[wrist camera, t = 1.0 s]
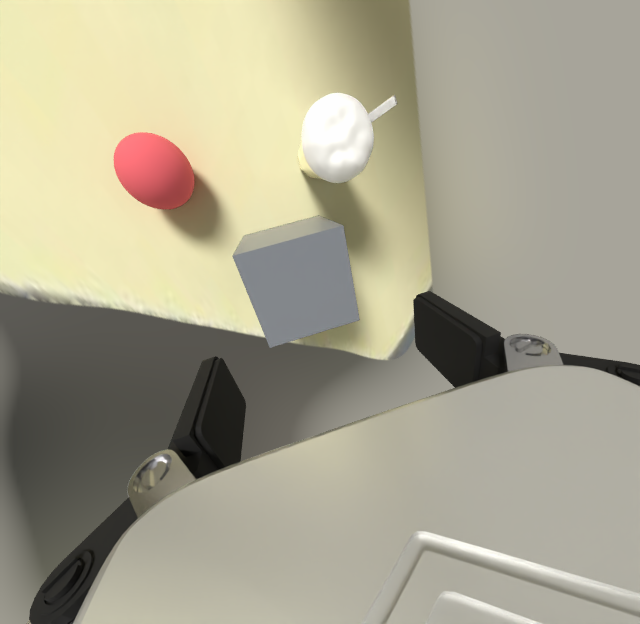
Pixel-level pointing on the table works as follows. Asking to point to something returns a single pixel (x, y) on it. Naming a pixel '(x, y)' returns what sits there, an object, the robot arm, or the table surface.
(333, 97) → the milkshake
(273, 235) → the grey cube
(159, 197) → the ball
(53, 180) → the table surface
